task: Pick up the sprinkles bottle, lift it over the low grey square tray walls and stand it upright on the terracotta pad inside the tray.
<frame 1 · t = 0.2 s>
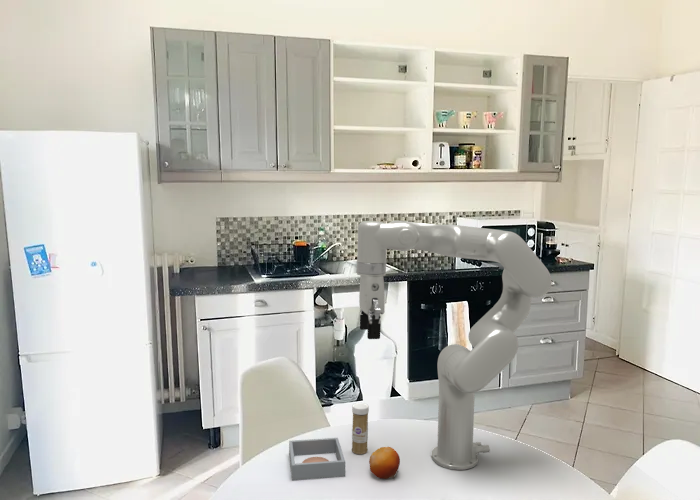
hand: (369, 333, 137), 36 cm above the table, tool pointing down, fingers open, 9 cm apart
sprinkles bottle: (359, 451, 147), on the table
grey square tray: (316, 465, 139), on the table
fruit: (384, 474, 135), on the table
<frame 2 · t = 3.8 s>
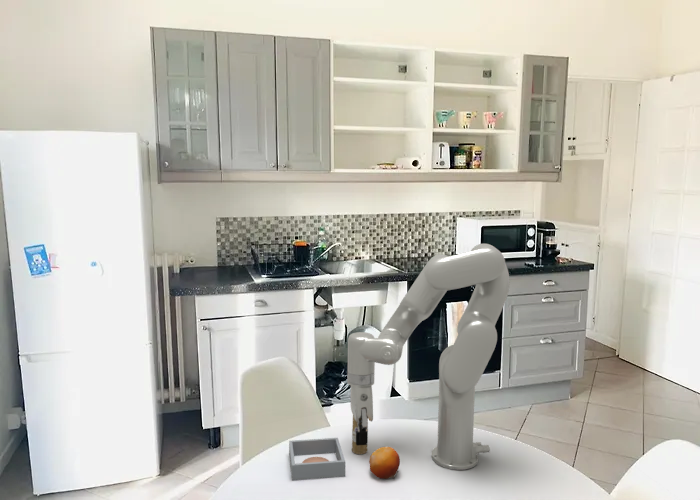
hand: (359, 439, 147), 3 cm above the table, tool pointing down, fingers closed on sprinkles bottle, 4 cm apart
sprinkles bottle: (359, 451, 147), on the table, touching gripper
everything else where it was.
when the fingers open (5 cm above the table, at t = 9.7 s): sprinkles bottle drops 1 cm, resting on grey square tray.
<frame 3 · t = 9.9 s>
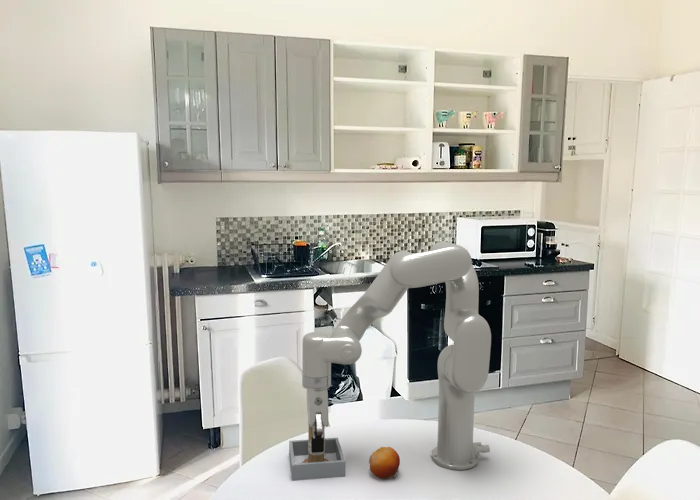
hand: (316, 444, 139), 6 cm above the table, tool pointing down, fingers open, 6 cm apart
sprinkles bottle: (316, 464, 139), resting on grey square tray
everything else where it was.
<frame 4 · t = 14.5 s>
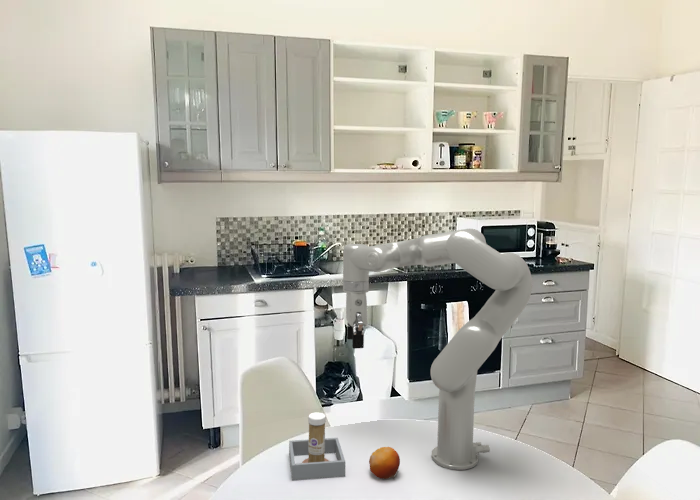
hand: (355, 343, 154), 28 cm above the table, tool pointing down, fingers open, 9 cm apart
nothing on the table moved.
at the end: sprinkles bottle 0.2 cm off-centre on the grey square tray, point 0.2 cm above the grey square tray's base; sprinkles bottle tilted 1°; the gripper is holding nothing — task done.
